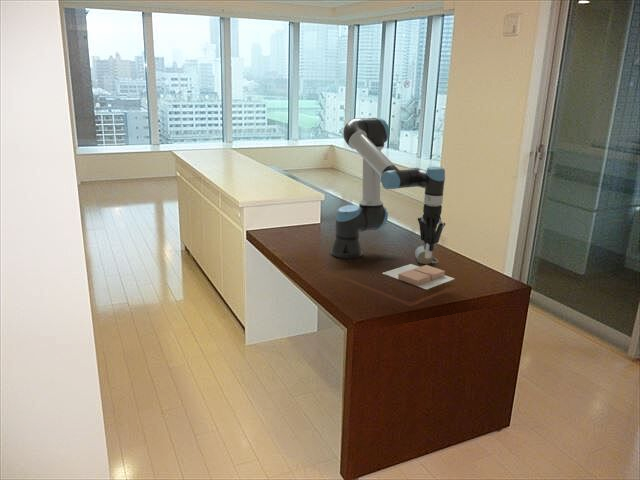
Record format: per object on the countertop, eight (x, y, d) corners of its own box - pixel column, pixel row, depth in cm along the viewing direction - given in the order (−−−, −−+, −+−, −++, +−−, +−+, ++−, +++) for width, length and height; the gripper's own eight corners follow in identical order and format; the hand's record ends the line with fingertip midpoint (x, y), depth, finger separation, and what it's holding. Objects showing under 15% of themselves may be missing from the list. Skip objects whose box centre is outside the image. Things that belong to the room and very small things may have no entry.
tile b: (413, 268, 230) (432, 275, 223) (426, 264, 236) (444, 270, 229) (413, 274, 231) (431, 280, 223) (425, 269, 236) (444, 276, 229)
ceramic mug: (416, 265, 245) (418, 250, 243) (414, 260, 253) (415, 244, 250) (439, 267, 245) (441, 251, 242) (436, 261, 252) (438, 246, 250)
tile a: (398, 273, 223) (417, 280, 216) (412, 269, 229) (430, 275, 222) (398, 279, 224) (416, 286, 217) (411, 274, 230) (430, 281, 223)
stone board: (381, 275, 231) (381, 273, 231) (410, 266, 244) (410, 263, 244) (426, 292, 214) (426, 289, 214) (454, 281, 227) (455, 278, 227)
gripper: (414, 202, 224) (410, 255, 231) (440, 208, 215) (435, 263, 222) (425, 200, 229) (421, 252, 236) (451, 206, 220) (445, 259, 226)
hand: (427, 257), depth 229 cm, fingers closed
